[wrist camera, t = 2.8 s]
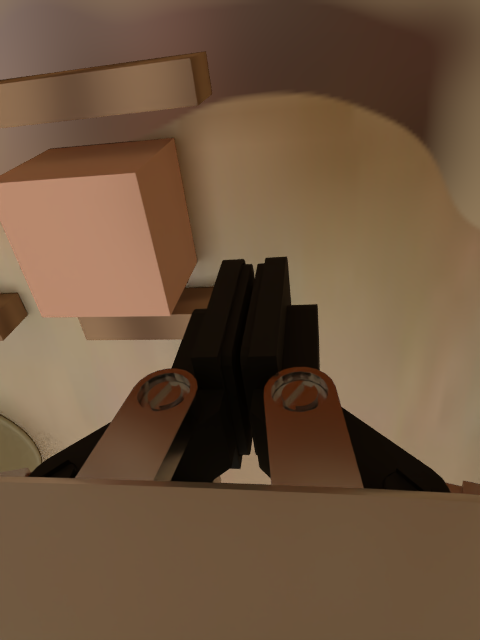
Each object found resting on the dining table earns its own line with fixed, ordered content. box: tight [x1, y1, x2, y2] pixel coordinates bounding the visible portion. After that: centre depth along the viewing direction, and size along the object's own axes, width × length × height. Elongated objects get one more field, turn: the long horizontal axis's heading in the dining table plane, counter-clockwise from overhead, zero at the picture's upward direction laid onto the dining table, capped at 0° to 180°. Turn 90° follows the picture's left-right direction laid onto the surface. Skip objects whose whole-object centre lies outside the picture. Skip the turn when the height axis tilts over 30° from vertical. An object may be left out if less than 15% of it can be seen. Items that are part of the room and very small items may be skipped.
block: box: [0, 138, 197, 317], centre depth 20 cm, size 6×6×5 cm
